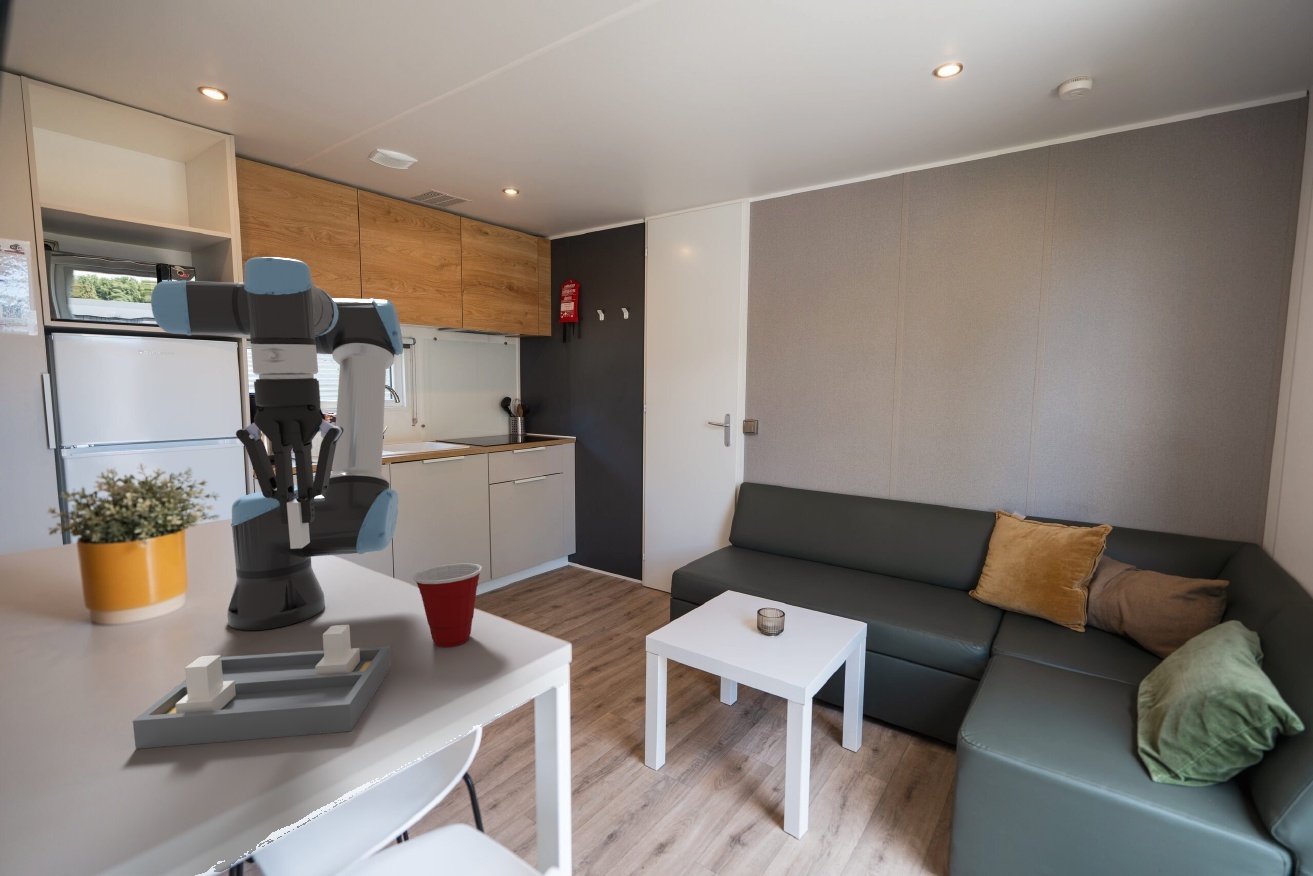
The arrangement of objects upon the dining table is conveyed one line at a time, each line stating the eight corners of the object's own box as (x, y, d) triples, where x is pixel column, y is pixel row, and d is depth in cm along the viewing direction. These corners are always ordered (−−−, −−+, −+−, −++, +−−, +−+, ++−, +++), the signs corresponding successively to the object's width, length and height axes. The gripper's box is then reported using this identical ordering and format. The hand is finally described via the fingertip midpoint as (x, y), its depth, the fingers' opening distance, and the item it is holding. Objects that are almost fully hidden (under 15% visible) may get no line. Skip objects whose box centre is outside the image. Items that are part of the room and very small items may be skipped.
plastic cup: (467, 620, 107) (465, 555, 106) (496, 640, 99) (494, 569, 98) (406, 638, 99) (402, 569, 98) (431, 661, 92) (428, 585, 90)
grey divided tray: (216, 680, 86) (213, 657, 86) (390, 668, 89) (389, 646, 89) (135, 749, 70) (132, 720, 70) (351, 731, 74) (349, 704, 73)
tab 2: (331, 663, 86) (328, 623, 86) (360, 661, 87) (357, 621, 86) (316, 680, 81) (313, 638, 81) (347, 678, 82) (344, 636, 81)
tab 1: (202, 697, 77) (198, 653, 77) (235, 695, 78) (232, 651, 77) (176, 719, 72) (172, 672, 72) (212, 716, 73) (208, 669, 72)
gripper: (218, 378, 76) (235, 556, 79) (328, 377, 78) (340, 551, 81) (247, 376, 83) (262, 539, 86) (347, 375, 85) (358, 535, 89)
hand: (300, 545), depth 84 cm, fingers closed
